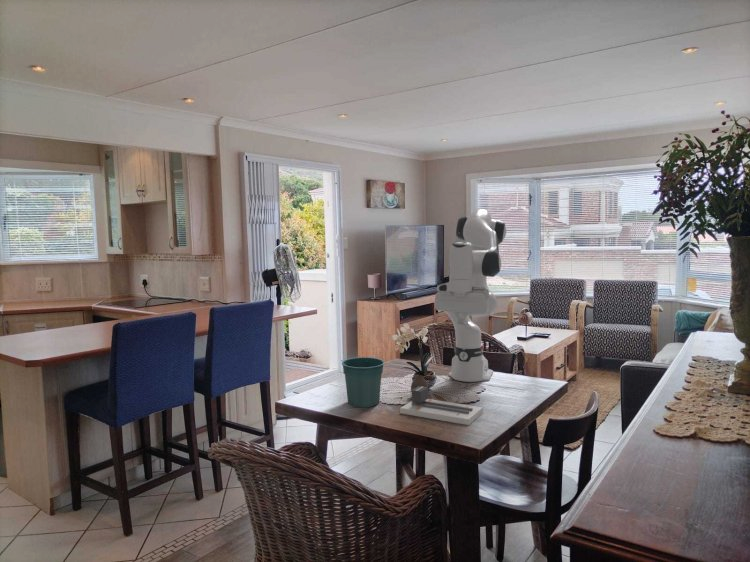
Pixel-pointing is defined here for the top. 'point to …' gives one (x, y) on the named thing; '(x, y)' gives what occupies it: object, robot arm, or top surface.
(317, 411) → the top surface
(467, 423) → the white slider track base
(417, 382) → the vase
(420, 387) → the fader tab
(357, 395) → the flower pot
